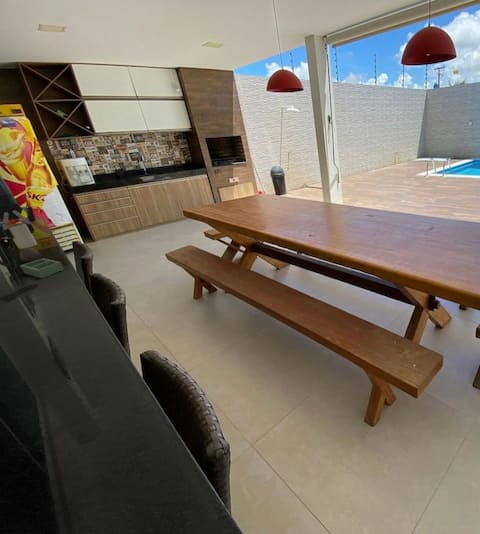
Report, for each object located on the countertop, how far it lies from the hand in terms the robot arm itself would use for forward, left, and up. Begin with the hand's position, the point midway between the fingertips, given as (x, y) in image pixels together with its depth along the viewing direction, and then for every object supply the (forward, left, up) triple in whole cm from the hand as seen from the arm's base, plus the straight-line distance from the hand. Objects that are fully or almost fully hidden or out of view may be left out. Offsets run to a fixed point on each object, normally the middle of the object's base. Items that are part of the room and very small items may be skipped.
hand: (21, 235), depth 124 cm
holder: (+3, +10, -20) cm, 22 cm away
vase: (+7, +30, -20) cm, 37 cm away
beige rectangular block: (0, 0, -5) cm, 5 cm away
